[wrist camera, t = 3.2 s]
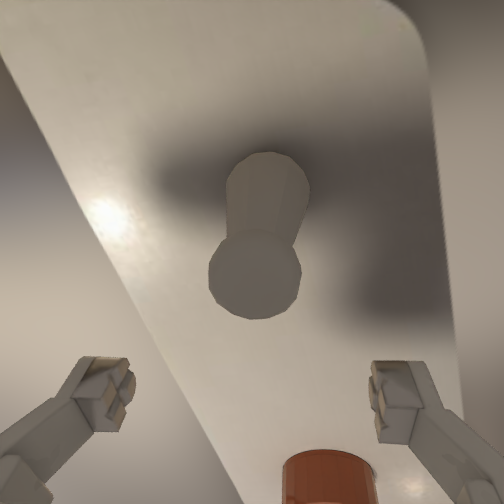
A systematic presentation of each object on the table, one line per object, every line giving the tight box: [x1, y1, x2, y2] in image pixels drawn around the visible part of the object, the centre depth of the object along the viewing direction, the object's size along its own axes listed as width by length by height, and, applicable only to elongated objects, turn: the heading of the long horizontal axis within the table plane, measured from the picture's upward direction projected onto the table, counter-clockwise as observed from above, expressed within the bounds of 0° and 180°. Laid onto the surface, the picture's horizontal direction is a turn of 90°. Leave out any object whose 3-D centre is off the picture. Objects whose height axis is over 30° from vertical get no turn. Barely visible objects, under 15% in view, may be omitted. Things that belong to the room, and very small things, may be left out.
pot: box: [282, 450, 379, 504], centre depth 46 cm, size 12×12×6 cm
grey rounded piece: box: [209, 152, 310, 319], centre depth 20 cm, size 6×6×13 cm
